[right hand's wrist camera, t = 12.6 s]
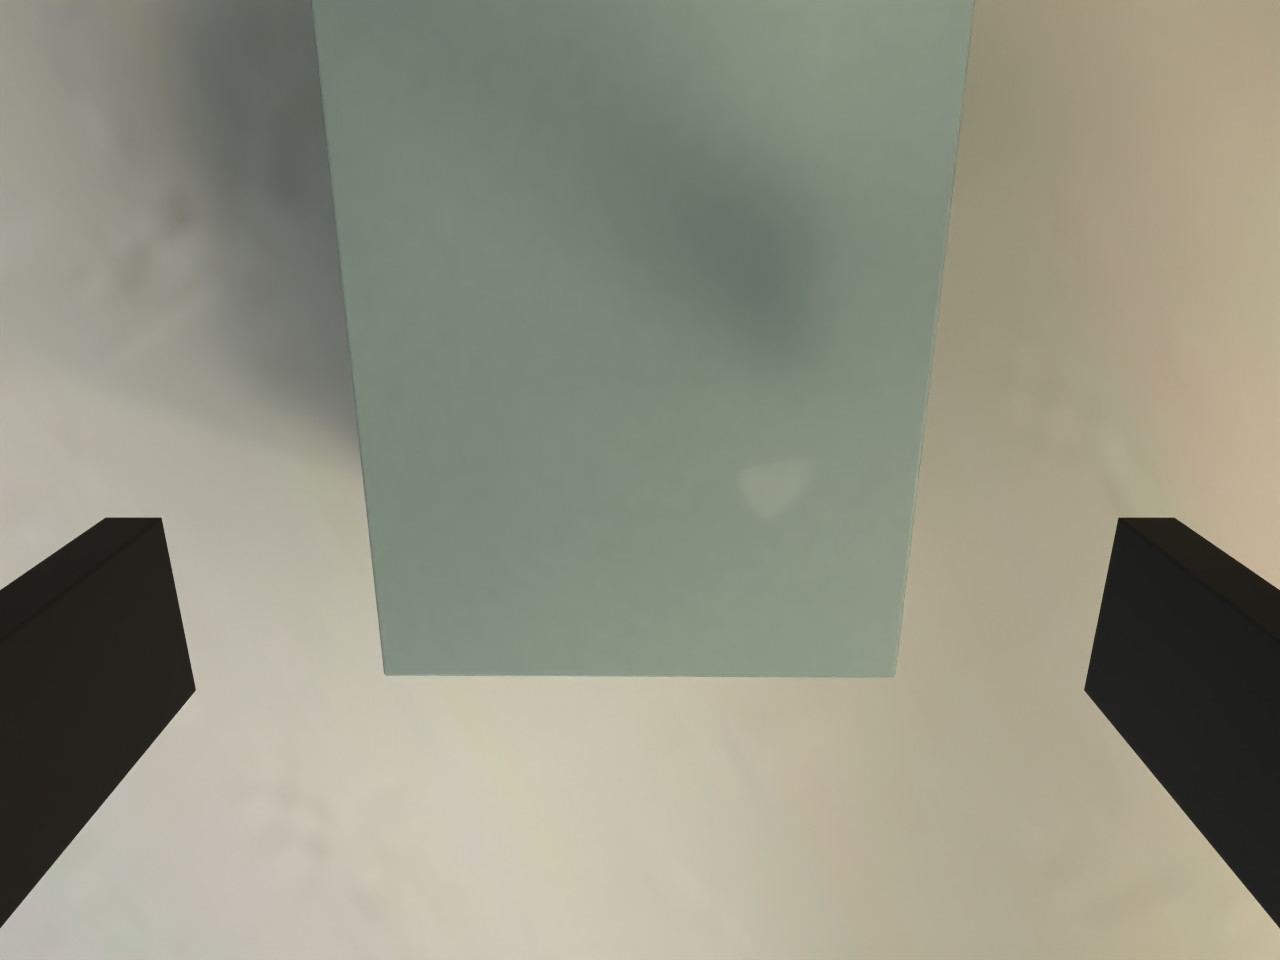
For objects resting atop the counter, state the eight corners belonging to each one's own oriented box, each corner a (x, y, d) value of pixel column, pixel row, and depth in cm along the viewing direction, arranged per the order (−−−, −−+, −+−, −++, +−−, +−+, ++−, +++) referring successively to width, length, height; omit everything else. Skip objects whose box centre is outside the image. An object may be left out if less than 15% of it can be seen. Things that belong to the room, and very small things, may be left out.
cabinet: (416, -163, 23) (269, -369, 14) (869, -161, 23) (1019, -364, 14) (462, 514, 29) (383, 677, 20) (817, 515, 29) (895, 679, 20)
